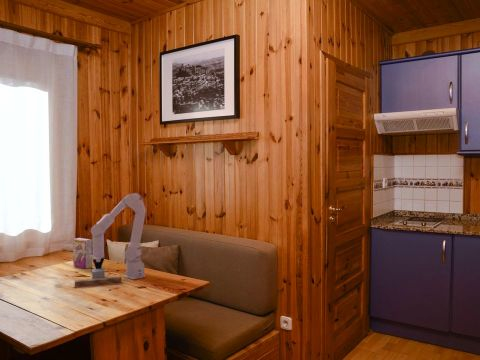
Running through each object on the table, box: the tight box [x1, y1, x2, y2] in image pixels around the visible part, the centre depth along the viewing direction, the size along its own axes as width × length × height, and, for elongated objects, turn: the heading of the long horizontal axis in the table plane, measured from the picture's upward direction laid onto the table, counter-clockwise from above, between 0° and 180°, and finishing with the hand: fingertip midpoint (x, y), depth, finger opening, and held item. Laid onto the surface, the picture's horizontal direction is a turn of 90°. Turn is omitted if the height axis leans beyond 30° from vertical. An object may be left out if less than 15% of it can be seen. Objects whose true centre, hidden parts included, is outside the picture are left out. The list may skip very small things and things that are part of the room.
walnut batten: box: [74, 276, 123, 288], centre depth 211 cm, size 22×3×2 cm, turn 108°
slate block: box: [91, 267, 106, 279], centre depth 220 cm, size 6×6×5 cm
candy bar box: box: [72, 237, 93, 270], centre depth 246 cm, size 11×5×16 cm, turn 58°
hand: (98, 272), depth 226 cm, fingers closed
